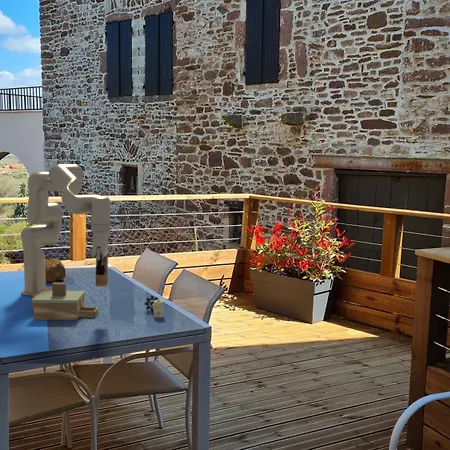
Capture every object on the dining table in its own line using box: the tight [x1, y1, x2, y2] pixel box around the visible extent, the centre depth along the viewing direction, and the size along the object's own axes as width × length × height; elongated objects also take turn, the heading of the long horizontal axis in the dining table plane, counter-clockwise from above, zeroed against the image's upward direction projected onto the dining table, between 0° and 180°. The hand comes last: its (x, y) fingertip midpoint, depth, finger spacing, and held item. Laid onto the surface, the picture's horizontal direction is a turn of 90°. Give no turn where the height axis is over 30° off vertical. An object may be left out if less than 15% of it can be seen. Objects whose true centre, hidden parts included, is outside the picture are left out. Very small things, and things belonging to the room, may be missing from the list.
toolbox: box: [33, 295, 99, 321], centre depth 249 cm, size 14×24×7 cm, turn 91°
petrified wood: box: [45, 257, 67, 283], centre depth 312 cm, size 19×13×10 cm
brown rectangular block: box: [95, 254, 109, 287], centre depth 242 cm, size 4×4×12 cm
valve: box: [144, 295, 165, 319], centre depth 253 cm, size 7×7×12 cm
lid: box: [31, 282, 86, 304], centre depth 248 cm, size 15×18×6 cm
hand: (101, 273), depth 242 cm, fingers closed on brown rectangular block, 4 cm apart
